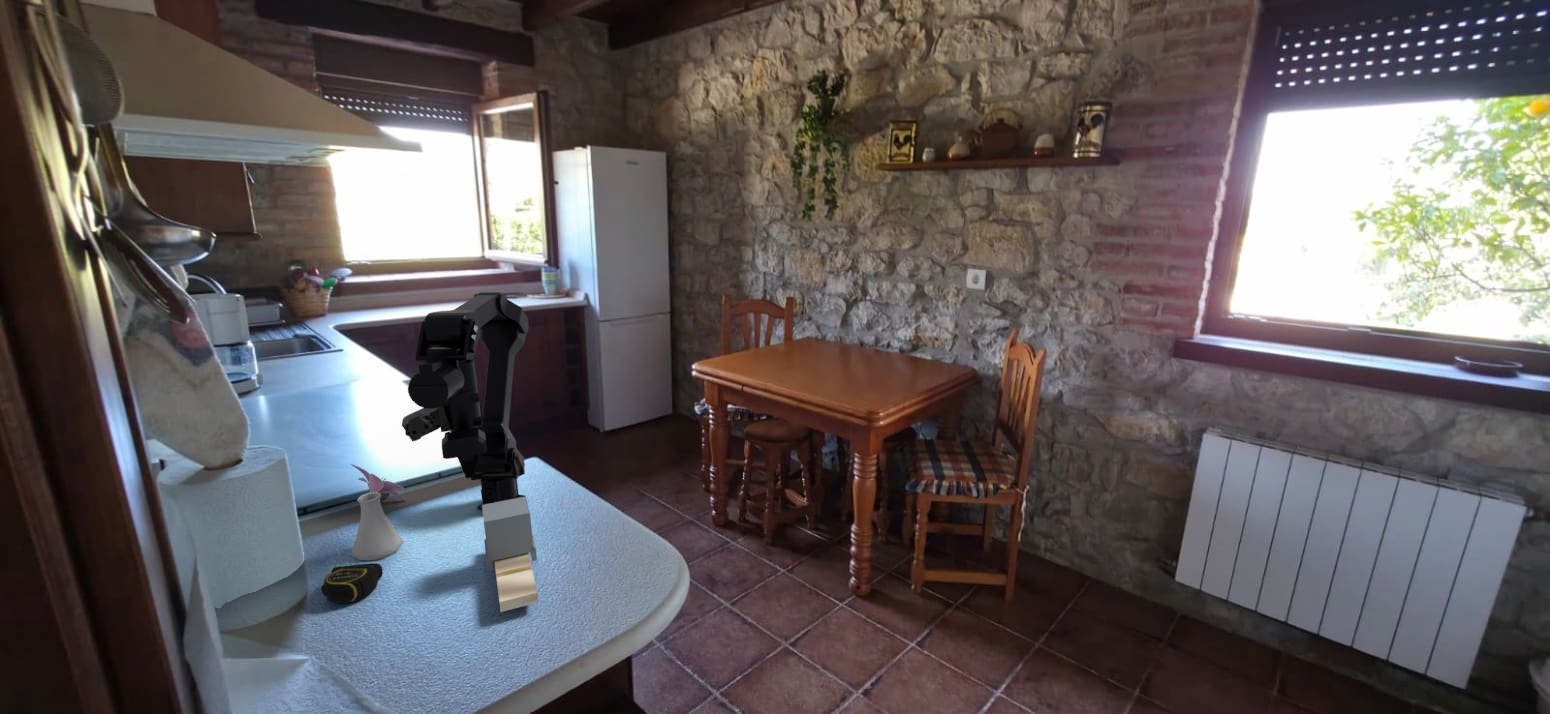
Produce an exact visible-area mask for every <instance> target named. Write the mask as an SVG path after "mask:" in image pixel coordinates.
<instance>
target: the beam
mask: <svg viewBox="0 0 1550 714" xmlns="http://www.w3.org/2000/svg"><path fill="white" fill-rule="evenodd" d="M493 562H494V569H495V577H496V585H497V593H498V601H499V602H498V603H499V609H500V611H499V612H500V613H504V612H506V611H511V610H514V609H517V608H518V609H519V608H521V607H522V608H523V607H525V606H529V605H533V604H536V603H539V598H538V597H539V596H538V591H537V586H536V580H535V576H534V572H533V567H532V563H531V562H532V561H531V558H530V552H529V553H524V554H520V555H516V556H511V557H507V558H503V559H498V560H494V561H493Z"/></svg>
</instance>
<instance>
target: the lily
mask: <svg viewBox="0 0 1550 714" xmlns="http://www.w3.org/2000/svg"><path fill="white" fill-rule="evenodd" d="M350 466H352V467H353V468H355V470H356V469H357V470H358V471H359V472H360V473H362V475H363V476H364V477H359V478H358V479H357V480H358V481H361V482H364V483H367V486H368V490H369V493H370V492H378V493H380V494H381V495H382V494H387V493H389V494H388V495H393V496H396V497H398V498H399V499H402V500H403V501H404V502H407V500H406V499H405V498H404V497H403V496H402V495H400V494H399V493H398V492H397V491H404V490H405V491H406V488H404V487H403V486H402V485H399V484H397V483H395V482H393V481H390V480H387V478H386V477H385V478H384V477H382V478H380V477H378V476H377V475H376V474H374V473H370V472H369V471H367V470H365V469H364V468H362V467H359V466H358V465H356V464H355V465H354V464H352V463H350Z"/></svg>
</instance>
